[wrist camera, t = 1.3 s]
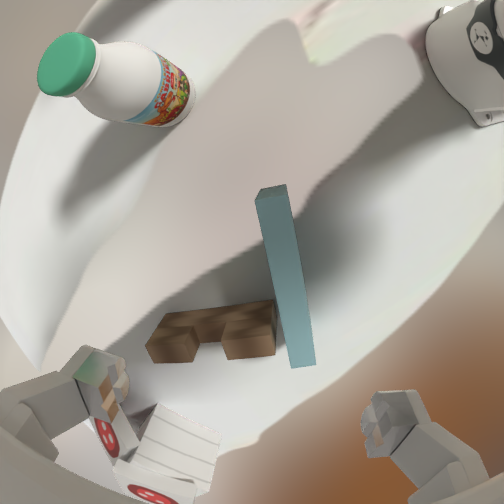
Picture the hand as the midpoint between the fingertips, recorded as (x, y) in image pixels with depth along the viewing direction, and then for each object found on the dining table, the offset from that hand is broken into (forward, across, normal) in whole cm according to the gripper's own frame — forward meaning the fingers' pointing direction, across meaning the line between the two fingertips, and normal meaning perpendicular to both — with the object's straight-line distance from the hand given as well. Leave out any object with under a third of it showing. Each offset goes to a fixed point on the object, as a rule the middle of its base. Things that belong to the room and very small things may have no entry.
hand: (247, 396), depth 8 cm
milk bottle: (+28, +14, -13) cm, 34 cm away
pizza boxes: (+29, +18, +48) cm, 58 cm away
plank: (+28, -4, +6) cm, 28 cm away
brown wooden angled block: (+28, +5, +15) cm, 32 cm away
